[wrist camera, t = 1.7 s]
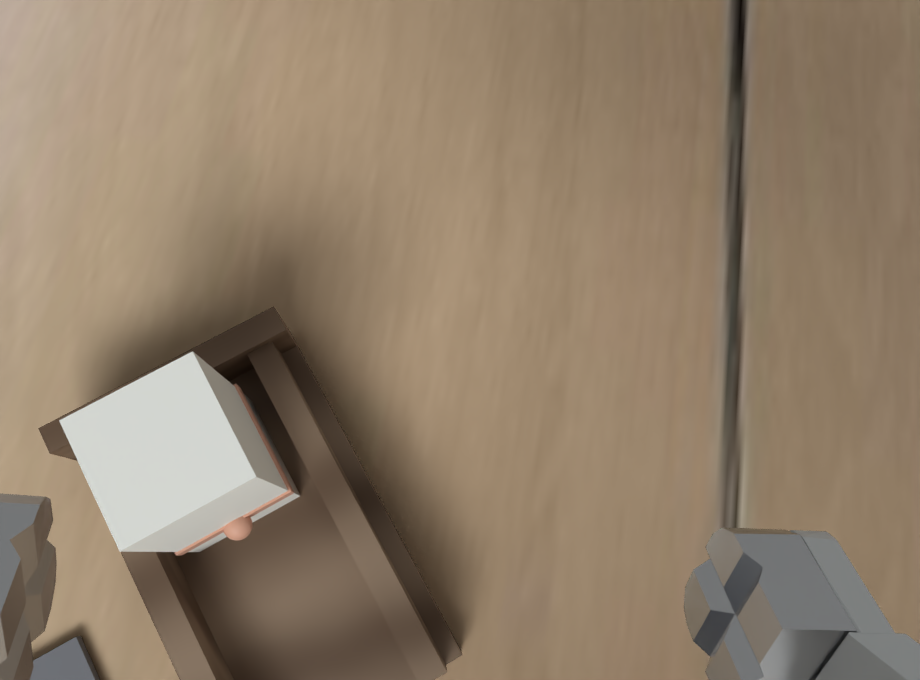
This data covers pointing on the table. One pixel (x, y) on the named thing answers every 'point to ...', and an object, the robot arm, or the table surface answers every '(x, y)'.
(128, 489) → the block
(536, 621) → the table surface
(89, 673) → the mat
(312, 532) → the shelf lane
